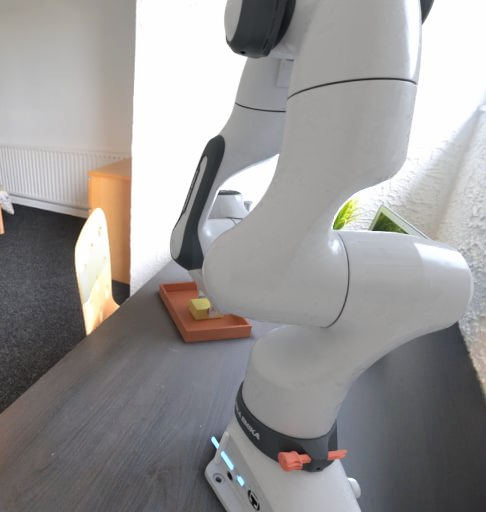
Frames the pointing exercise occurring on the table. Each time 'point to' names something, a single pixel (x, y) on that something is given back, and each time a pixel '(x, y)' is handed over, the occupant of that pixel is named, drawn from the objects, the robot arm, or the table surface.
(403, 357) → the table surface
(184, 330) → the orange tray
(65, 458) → the table surface
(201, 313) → the sponge
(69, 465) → the table surface
